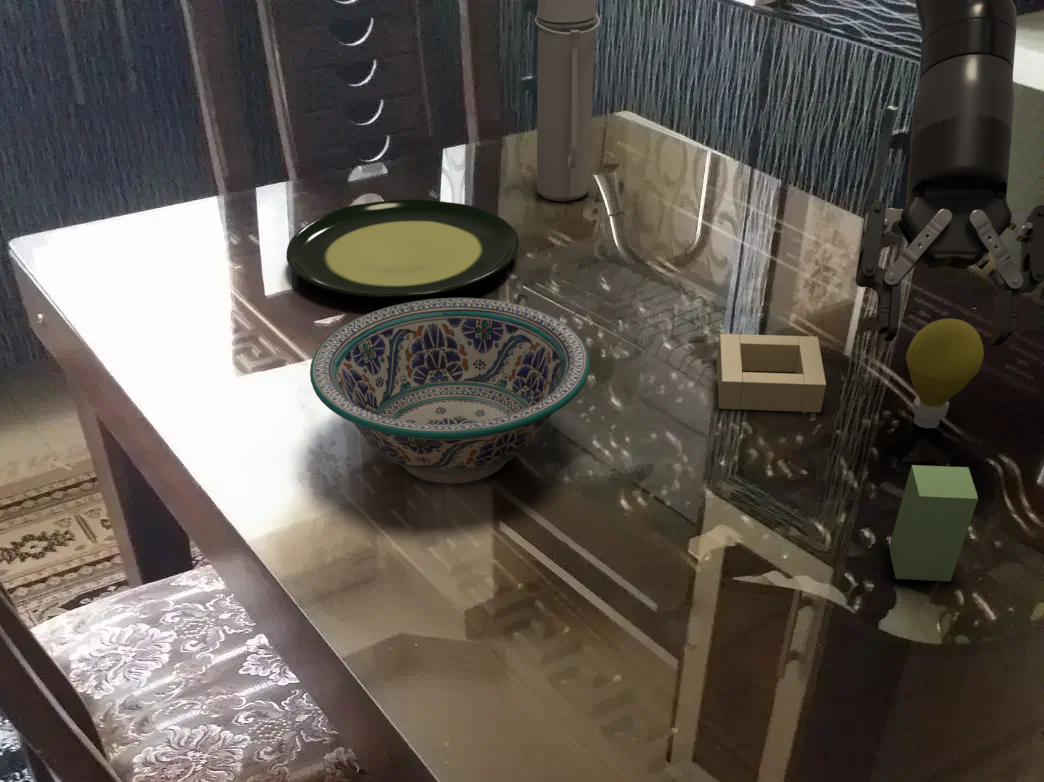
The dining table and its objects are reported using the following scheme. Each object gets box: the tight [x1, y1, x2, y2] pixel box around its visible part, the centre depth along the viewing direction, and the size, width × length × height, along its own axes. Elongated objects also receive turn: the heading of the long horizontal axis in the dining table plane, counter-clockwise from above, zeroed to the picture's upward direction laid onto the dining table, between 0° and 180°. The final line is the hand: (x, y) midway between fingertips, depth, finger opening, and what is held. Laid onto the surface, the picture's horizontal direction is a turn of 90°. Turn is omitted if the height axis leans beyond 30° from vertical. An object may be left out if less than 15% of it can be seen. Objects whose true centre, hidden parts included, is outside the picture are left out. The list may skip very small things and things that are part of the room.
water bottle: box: [533, 0, 601, 202], centre depth 144 cm, size 9×8×25 cm
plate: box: [285, 198, 520, 299], centre depth 138 cm, size 28×28×2 cm
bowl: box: [309, 297, 591, 484], centre depth 106 cm, size 25×25×10 cm
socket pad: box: [715, 333, 827, 413], centre depth 115 cm, size 10×10×3 cm
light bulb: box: [905, 318, 985, 429], centre depth 107 cm, size 7×7×10 cm
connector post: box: [888, 464, 979, 583], centre depth 92 cm, size 4×4×8 cm
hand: (944, 340), depth 92 cm, fingers open, 8 cm apart
